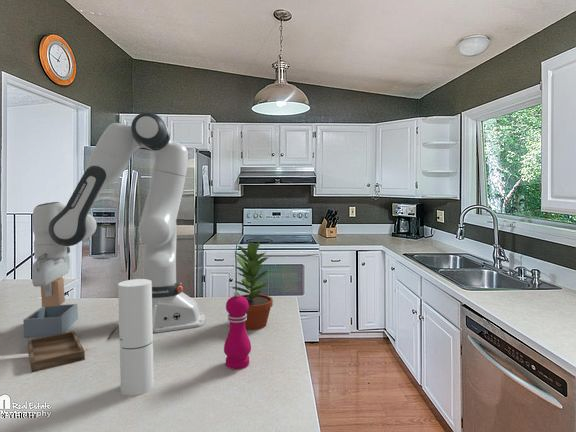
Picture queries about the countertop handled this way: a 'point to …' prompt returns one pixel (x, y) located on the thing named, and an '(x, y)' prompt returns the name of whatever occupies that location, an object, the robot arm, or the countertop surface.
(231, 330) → the pepper mill
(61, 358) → the tray
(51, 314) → the blue-grey storage bin
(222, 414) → the countertop surface
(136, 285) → the cylindrical container
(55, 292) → the block
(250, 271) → the potted plant
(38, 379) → the countertop surface
